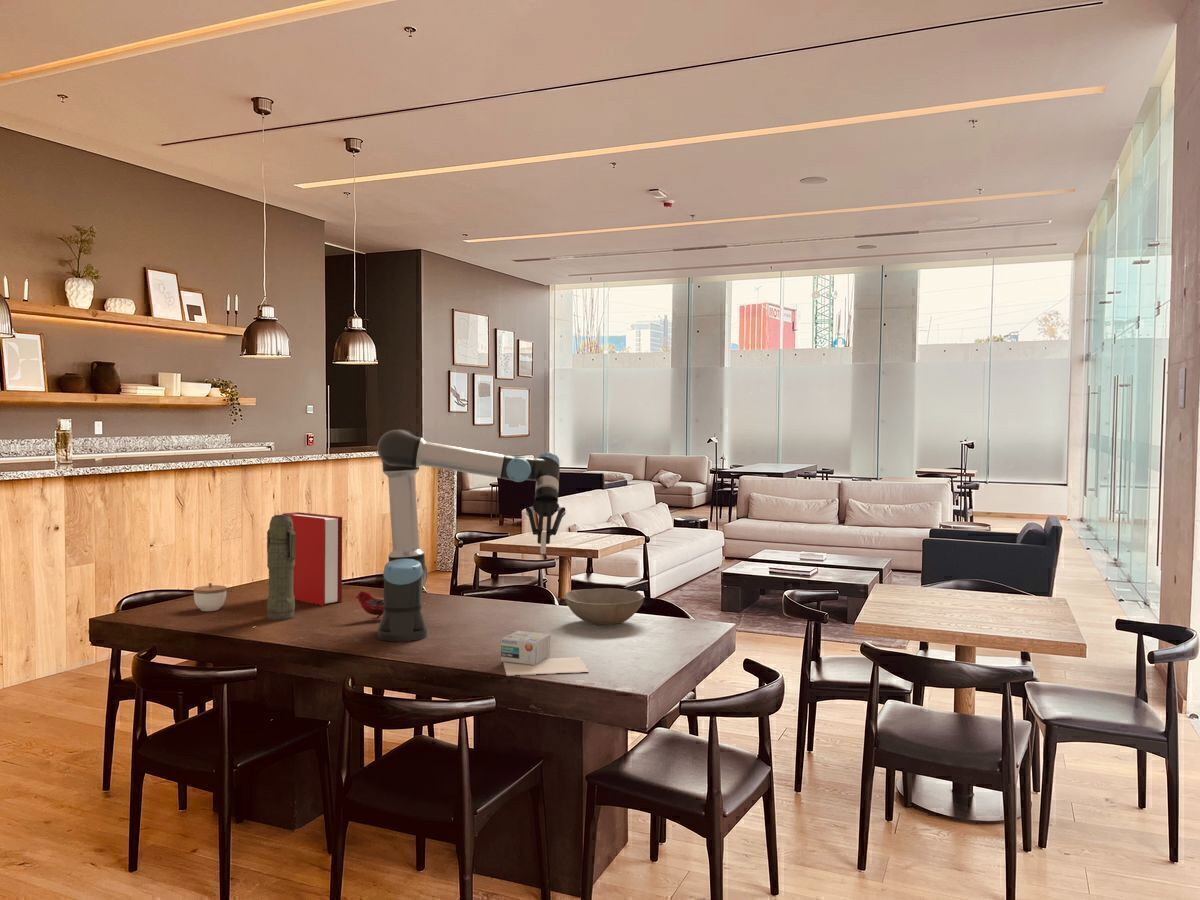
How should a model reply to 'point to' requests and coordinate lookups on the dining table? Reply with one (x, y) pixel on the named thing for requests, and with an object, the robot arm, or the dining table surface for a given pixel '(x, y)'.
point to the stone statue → (281, 567)
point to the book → (317, 558)
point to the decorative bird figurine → (371, 604)
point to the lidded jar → (210, 597)
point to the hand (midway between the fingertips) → (543, 551)
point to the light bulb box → (525, 647)
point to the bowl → (604, 605)
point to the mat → (546, 667)
